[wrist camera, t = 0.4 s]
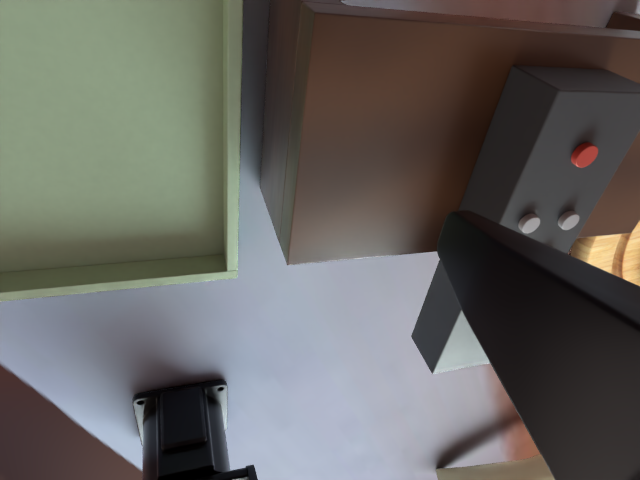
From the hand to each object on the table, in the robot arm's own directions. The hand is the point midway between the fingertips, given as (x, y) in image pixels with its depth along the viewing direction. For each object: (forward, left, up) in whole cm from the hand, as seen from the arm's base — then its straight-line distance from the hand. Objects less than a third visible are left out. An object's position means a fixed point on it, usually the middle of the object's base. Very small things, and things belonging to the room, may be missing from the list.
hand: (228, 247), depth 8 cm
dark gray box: (-6, -14, -8) cm, 17 cm away
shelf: (-2, -14, -14) cm, 20 cm away
